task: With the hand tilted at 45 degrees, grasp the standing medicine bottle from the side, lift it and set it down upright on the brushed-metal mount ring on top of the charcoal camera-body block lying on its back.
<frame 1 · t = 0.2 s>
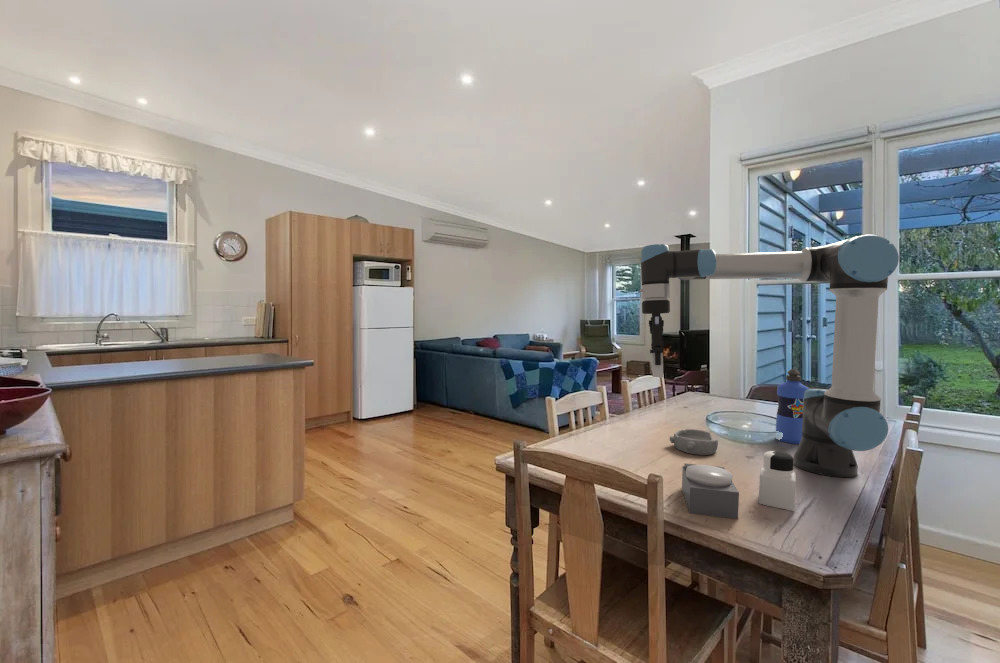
hand: (657, 374, 129), 27 cm above the table, tool pointing down, fingers open, 13 cm apart
medicine bottle: (776, 503, 108), on the table
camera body: (707, 502, 108), on the table
dish: (694, 450, 149), on the table
water bottle: (790, 440, 159), on the table
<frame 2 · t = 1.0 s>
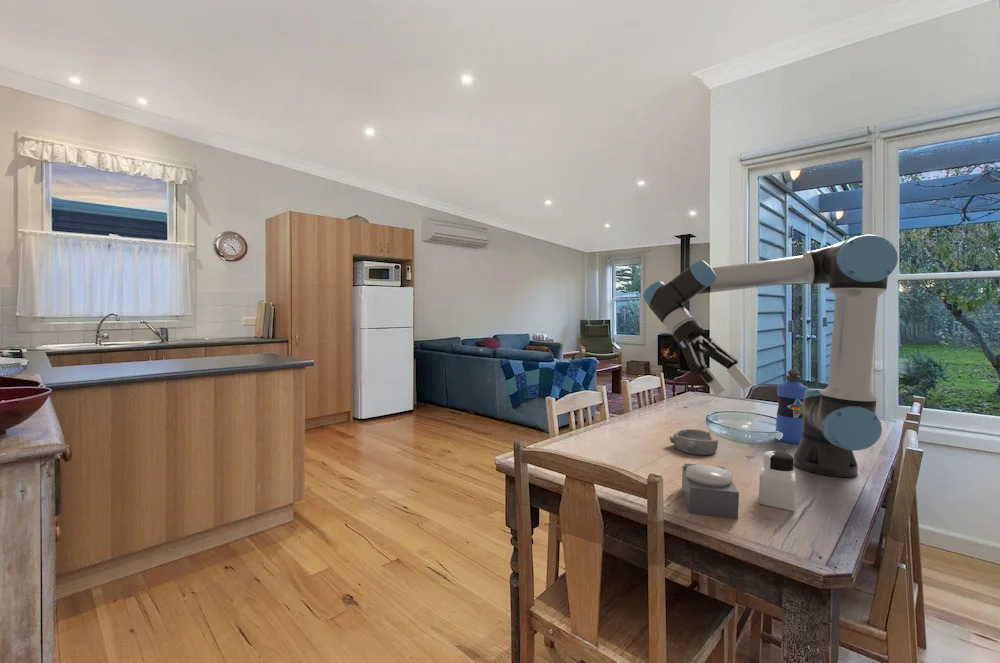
hand: (735, 389, 116), 26 cm above the table, tool tilted 45°, fingers open, 13 cm apart
nothing on the table moved.
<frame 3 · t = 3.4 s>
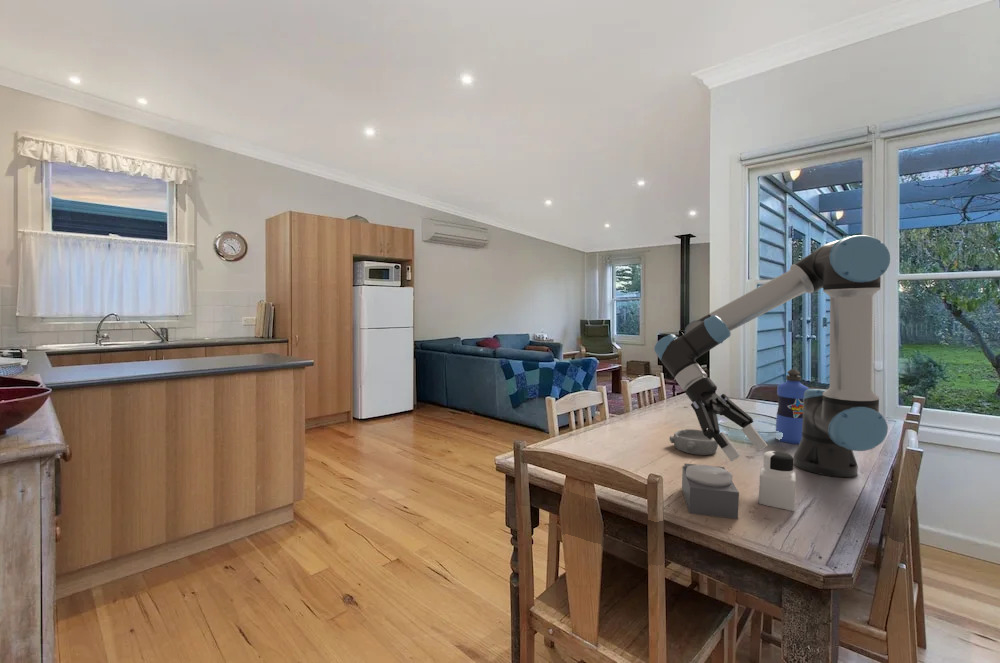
hand: (750, 453, 112), 10 cm above the table, tool tilted 45°, fingers open, 13 cm apart
nothing on the table moved.
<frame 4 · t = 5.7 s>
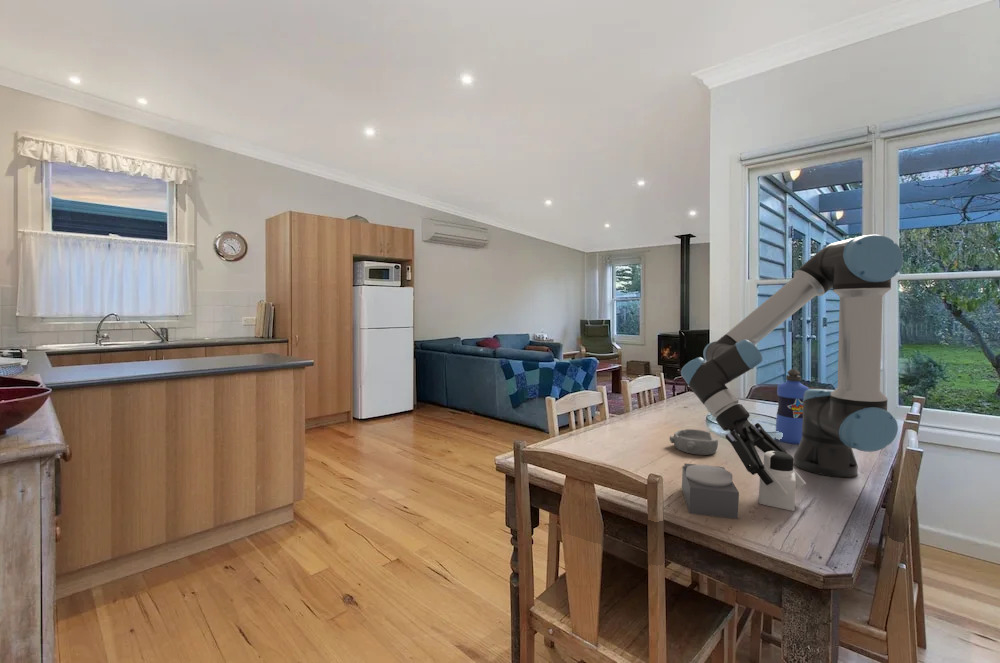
hand: (792, 491, 106), 4 cm above the table, tool tilted 45°, fingers closed on medicine bottle, 9 cm apart
medicine bottle: (776, 503, 108), on the table, touching gripper
everything else where it was.
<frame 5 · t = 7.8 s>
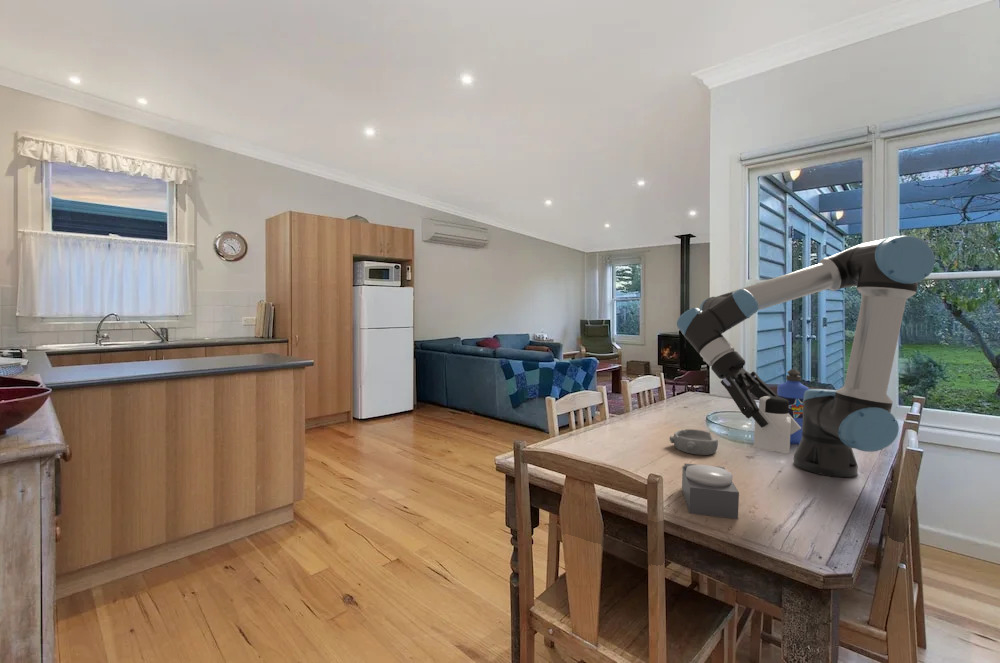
hand: (787, 434, 105), 17 cm above the table, tool tilted 45°, fingers closed on medicine bottle, 9 cm apart
medicine bottle: (771, 447, 108), point 13 cm above the table, touching gripper
everything else where it was.
when the fingers open (13 cm above the table, at t = 10.1 s): medicine bottle drops 1 cm, resting on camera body.
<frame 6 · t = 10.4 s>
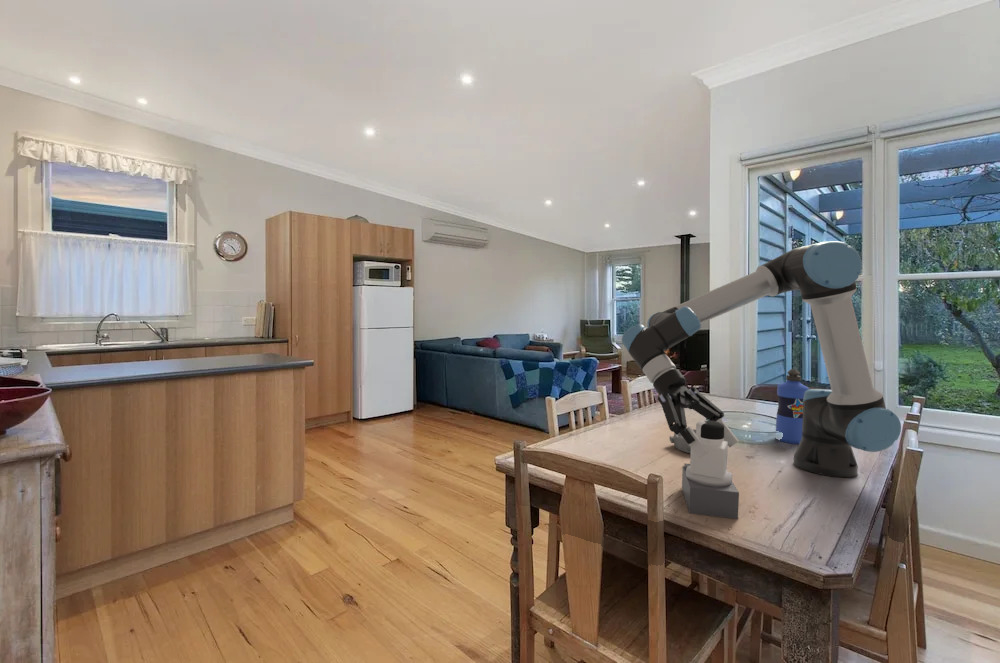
hand: (719, 449, 105), 14 cm above the table, tool tilted 45°, fingers open, 13 cm apart
medicine bottle: (708, 472, 108), point 7 cm above the table, touching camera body
everything else where it was.
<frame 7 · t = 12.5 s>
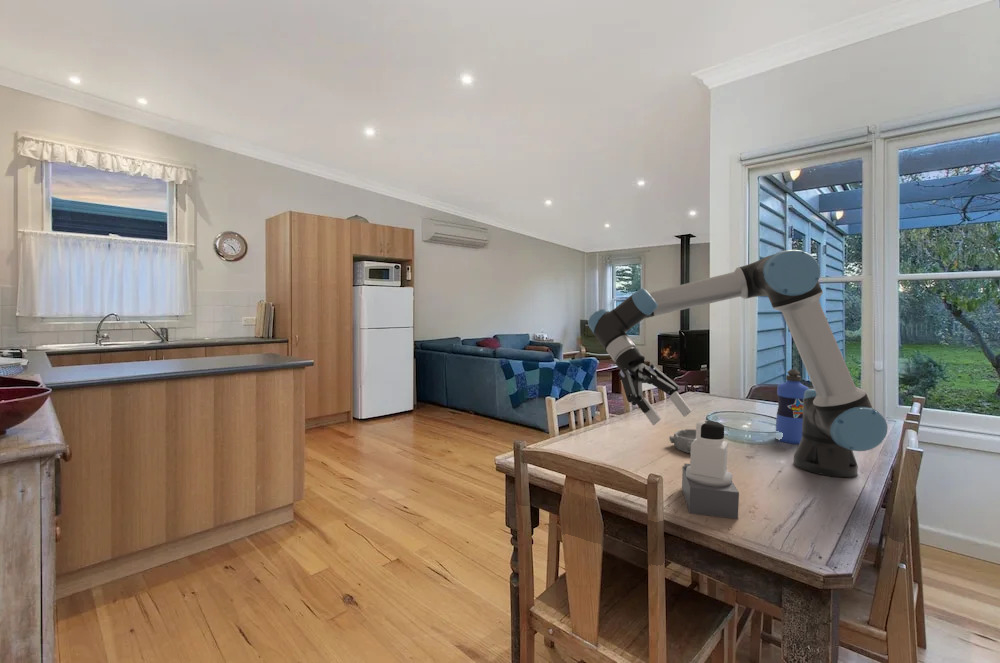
hand: (673, 417, 117), 18 cm above the table, tool tilted 45°, fingers open, 13 cm apart
nothing on the table moved.
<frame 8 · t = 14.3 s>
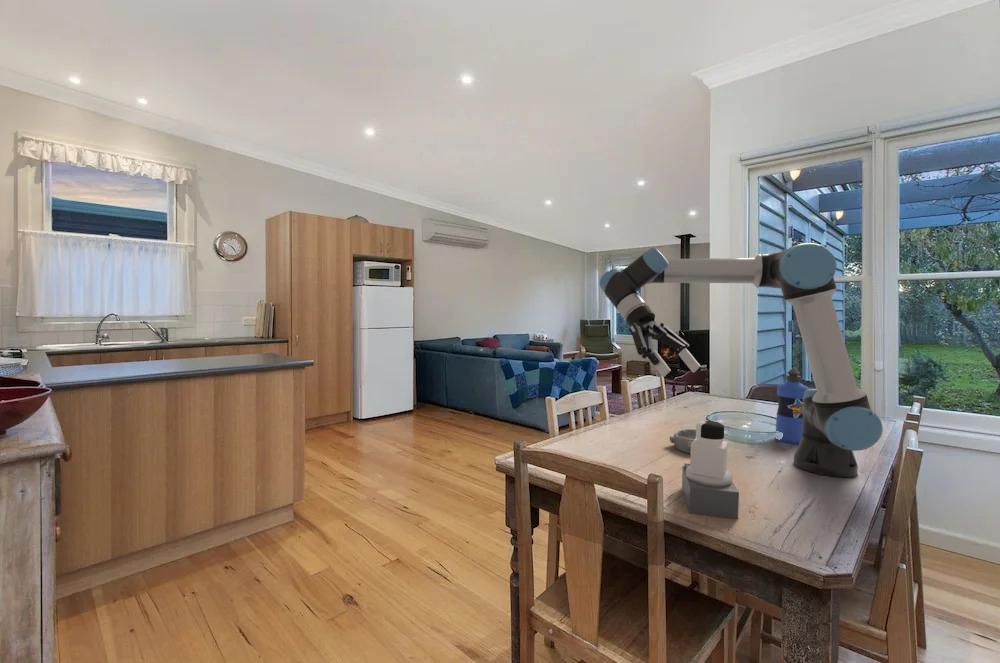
hand: (682, 371, 119), 30 cm above the table, tool tilted 45°, fingers open, 13 cm apart
nothing on the table moved.
at the end: medicine bottle 0.1 cm from the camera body (horizontally); medicine bottle point 7.3 cm above the table; medicine bottle tilted 0° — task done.
